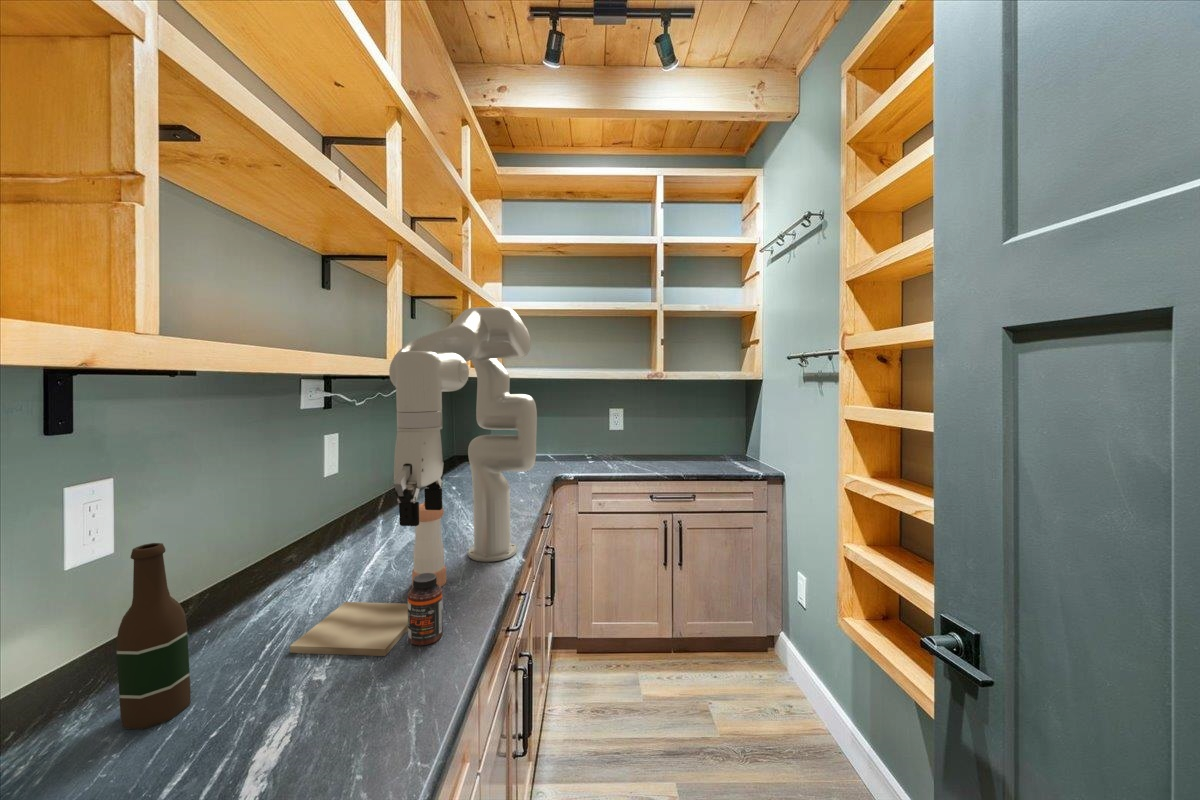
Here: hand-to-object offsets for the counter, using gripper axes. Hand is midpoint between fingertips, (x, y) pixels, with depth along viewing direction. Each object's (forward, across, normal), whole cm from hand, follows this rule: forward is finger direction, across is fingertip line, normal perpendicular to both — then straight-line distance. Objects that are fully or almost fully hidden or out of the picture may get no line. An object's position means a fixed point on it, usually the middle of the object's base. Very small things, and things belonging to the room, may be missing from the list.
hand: (422, 517), depth 86 cm
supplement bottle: (+22, 0, 0) cm, 23 cm away
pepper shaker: (+22, -22, -9) cm, 33 cm away
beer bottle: (+23, +21, -30) cm, 43 cm away
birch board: (+22, -2, -13) cm, 26 cm away
